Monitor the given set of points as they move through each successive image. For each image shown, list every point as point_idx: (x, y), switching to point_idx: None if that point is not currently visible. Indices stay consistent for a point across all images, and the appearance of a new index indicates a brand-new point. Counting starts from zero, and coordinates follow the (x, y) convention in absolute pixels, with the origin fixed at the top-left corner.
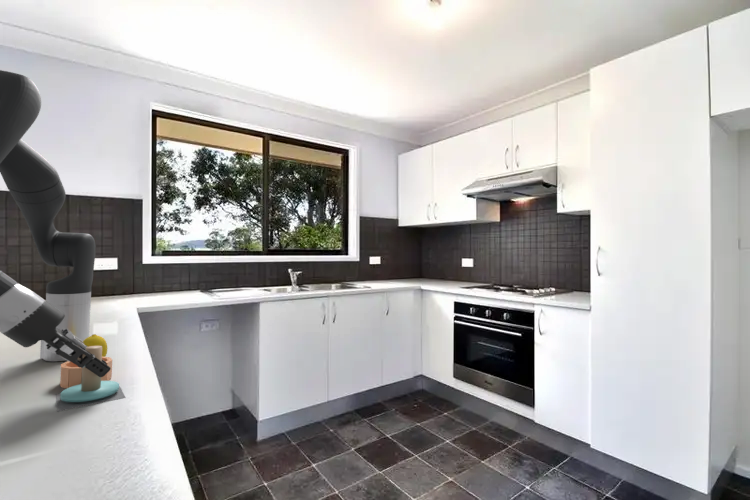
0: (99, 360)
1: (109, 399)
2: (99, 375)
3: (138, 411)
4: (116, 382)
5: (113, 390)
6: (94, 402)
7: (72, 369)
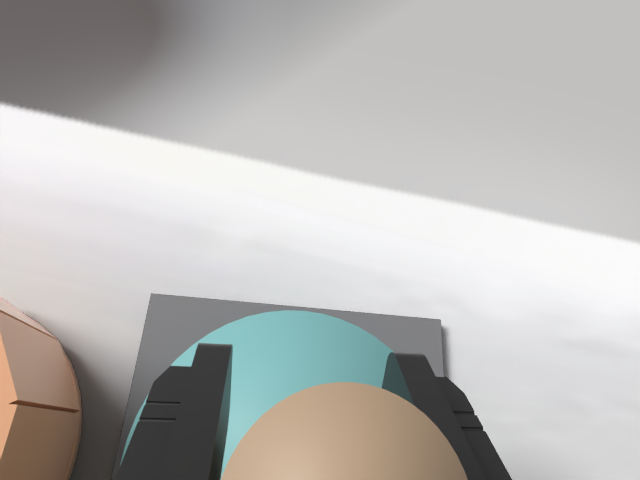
0: (468, 443)
1: None
2: None
3: (619, 316)
4: (268, 316)
5: None
6: None
7: None
